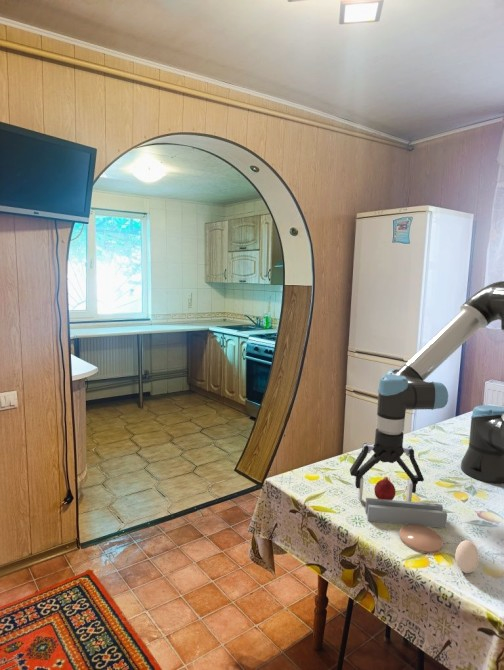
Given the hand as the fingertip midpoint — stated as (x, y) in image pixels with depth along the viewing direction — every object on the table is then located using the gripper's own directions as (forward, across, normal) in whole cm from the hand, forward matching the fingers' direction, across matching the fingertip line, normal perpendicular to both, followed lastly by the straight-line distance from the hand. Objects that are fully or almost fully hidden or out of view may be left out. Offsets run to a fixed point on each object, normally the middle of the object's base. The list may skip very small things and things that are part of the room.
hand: (384, 500), depth 124 cm
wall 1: (+1, -4, +6) cm, 7 cm away
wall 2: (+1, -4, +10) cm, 10 cm away
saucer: (+1, -6, +16) cm, 18 cm away
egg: (+1, -13, +27) cm, 30 cm away
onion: (+1, 0, 0) cm, 1 cm away
